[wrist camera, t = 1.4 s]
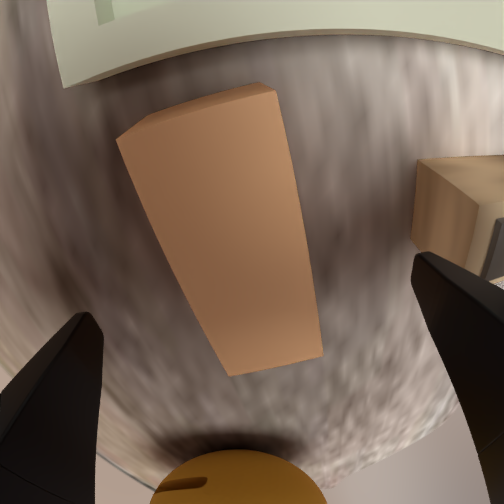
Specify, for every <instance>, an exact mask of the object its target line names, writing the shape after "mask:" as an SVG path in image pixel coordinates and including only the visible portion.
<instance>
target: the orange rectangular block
mask: <svg viewBox="0 0 504 504" xmlns="http://www.w3.org/2000/svg"><path fill="white" fill-rule="evenodd" d="M116 142H117V144H118V147H119V150H120V152H121V155H122V157H123V160H124V162H125V165H126V167H127V170H128V172H129V175H130V177H131V179H132V182H133V184H134V187H135V189H136V191H137V194H138V196H139V198H140V201H141V203H142V205H143V208H144V210H145V212H146V214H147V217H148V219H149V221H150V223H151V226H152V228H153V230H154V232H155V234H156V237H157V239H158V241H159V243H160V245H161V247H162V249H163V252H164V254H165V256H166V258H167V260H168V262H169V264H170V266H171V268H172V270H173V272H174V274H175V277H176V279H177V281H178V283H179V285H180V287H181V289H182V291H183V293H184V295H185V297H186V298H187V300H188V302H189V304H190V306H191V308H192V310H193V312H194V314H195V316H196V318H197V320H198V322H199V323H200V325H201V327H202V329H203V331H204V333H205V335H206V337H207V338H208V340H209V342H210V344H211V346H212V347H213V349H214V351H215V353H216V355H217V356H218V358H219V360H220V362H221V364H222V365H223V367H224V369H225V371H226V372H227V374H228V376H235V375H240V374H246V373H251V372H256V371H261V370H266V369H270V368H275V367H280V366H284V365H288V364H293V363H297V362H301V361H305V360H309V359H313V358H317V357H321V356H323V347H322V340H321V332H320V325H319V317H318V310H317V303H316V296H315V290H314V283H313V277H312V270H311V264H310V258H309V252H308V246H307V240H306V235H305V229H304V223H303V218H302V212H301V207H300V202H299V196H298V191H297V186H296V181H295V176H294V171H293V166H292V161H291V156H290V152H289V147H288V142H287V138H286V133H285V129H284V124H283V120H282V115H281V111H280V107H279V102H278V98H277V94H276V91H275V90H274V89H272V88H270V87H268V86H266V85H264V84H262V83H260V82H258V83H253V84H249V85H245V86H241V87H237V88H233V89H229V90H225V91H222V92H218V93H214V94H211V95H207V96H204V97H200V98H197V99H194V100H191V101H187V102H184V103H181V104H178V105H175V106H172V107H169V108H166V109H163V110H160V111H158V112H155V113H152V114H149V115H147V116H146V117H145V118H143V119H142V120H141V121H139V122H138V123H137V124H135V125H134V126H133V127H131V128H130V129H129V130H127V131H126V132H125V133H123V134H122V135H121V136H120V137H118V138H117V139H116Z"/></svg>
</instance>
